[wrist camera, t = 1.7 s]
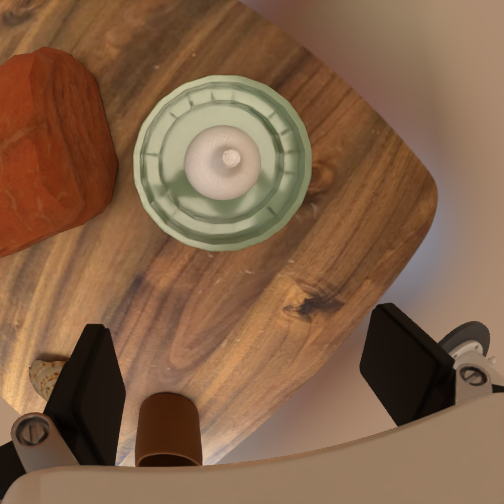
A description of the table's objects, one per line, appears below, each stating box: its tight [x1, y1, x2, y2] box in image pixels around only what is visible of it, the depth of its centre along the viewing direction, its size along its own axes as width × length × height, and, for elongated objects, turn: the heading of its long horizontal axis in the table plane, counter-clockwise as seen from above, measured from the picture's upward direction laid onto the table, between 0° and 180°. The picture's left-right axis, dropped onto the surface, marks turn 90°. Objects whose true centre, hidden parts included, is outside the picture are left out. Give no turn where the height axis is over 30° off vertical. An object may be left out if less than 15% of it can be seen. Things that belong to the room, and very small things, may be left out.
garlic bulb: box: [184, 125, 261, 200], centre depth 23 cm, size 6×6×8 cm
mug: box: [135, 393, 202, 467], centre depth 32 cm, size 12×8×9 cm, turn 156°
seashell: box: [29, 360, 66, 402], centre depth 31 cm, size 8×6×8 cm
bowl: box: [133, 75, 312, 251], centre depth 26 cm, size 14×14×4 cm
